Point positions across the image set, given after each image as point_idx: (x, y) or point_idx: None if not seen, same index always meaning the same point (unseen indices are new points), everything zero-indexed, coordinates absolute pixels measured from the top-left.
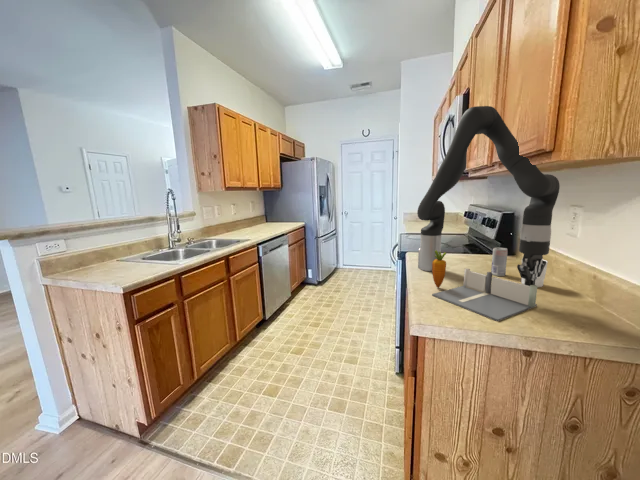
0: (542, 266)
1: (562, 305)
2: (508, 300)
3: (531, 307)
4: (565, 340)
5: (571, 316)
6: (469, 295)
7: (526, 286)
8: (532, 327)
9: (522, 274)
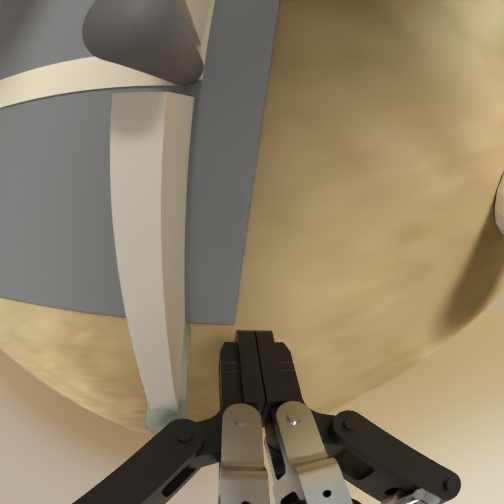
0: (375, 497)
1: (329, 351)
2: None
3: None
4: (64, 395)
5: None
6: (40, 48)
7: (147, 398)
8: (40, 352)
9: (157, 459)
